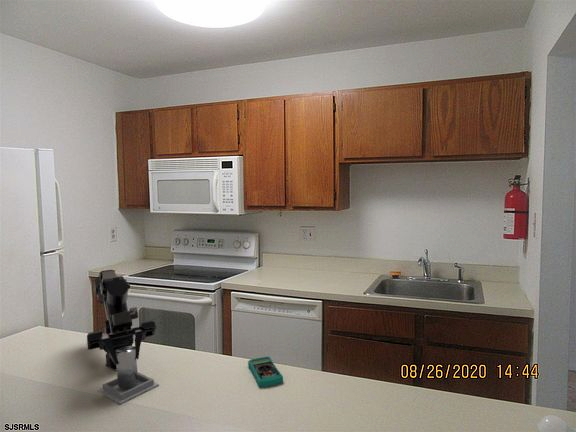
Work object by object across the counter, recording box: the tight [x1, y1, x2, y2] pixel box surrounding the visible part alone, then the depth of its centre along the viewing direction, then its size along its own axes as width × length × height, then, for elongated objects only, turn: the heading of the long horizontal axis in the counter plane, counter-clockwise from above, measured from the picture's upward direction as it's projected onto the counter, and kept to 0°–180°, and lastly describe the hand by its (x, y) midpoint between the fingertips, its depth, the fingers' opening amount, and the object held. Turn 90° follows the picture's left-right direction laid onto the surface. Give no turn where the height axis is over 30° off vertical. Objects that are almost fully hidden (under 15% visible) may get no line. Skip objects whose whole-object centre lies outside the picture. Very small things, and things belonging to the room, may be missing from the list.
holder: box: [97, 372, 160, 405], centre depth 119 cm, size 12×12×2 cm
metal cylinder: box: [115, 345, 139, 388], centre depth 118 cm, size 6×6×10 cm
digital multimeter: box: [247, 356, 284, 388], centre depth 124 cm, size 7×15×3 cm, turn 18°
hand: (127, 361), depth 117 cm, fingers closed on metal cylinder, 5 cm apart
